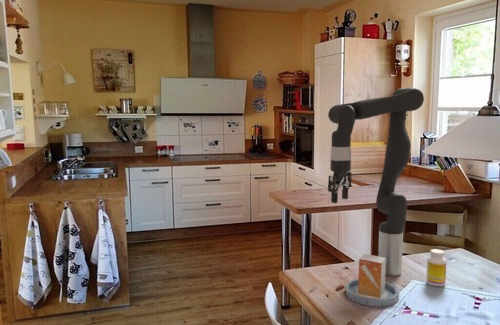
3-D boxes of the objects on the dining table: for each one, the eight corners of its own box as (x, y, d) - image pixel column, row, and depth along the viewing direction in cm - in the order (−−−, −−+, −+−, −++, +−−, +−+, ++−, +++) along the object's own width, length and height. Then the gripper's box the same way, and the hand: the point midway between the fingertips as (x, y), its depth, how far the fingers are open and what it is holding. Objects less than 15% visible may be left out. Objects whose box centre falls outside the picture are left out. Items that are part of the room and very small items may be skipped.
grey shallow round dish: (359, 280, 160) (359, 274, 159) (405, 293, 148) (405, 286, 148) (337, 296, 146) (337, 290, 146) (386, 312, 135) (386, 305, 134)
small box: (357, 293, 146) (358, 258, 145) (362, 286, 152) (363, 253, 150) (380, 298, 142) (381, 262, 140) (385, 291, 147) (386, 257, 146)
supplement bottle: (447, 287, 153) (449, 254, 151) (428, 286, 154) (430, 253, 153) (442, 280, 159) (444, 248, 158) (424, 279, 161) (426, 247, 159)
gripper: (340, 156, 161) (339, 196, 163) (322, 159, 150) (321, 202, 152) (358, 157, 156) (357, 198, 158) (340, 161, 145) (339, 205, 147)
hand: (339, 200), depth 155 cm, fingers open, 8 cm apart
